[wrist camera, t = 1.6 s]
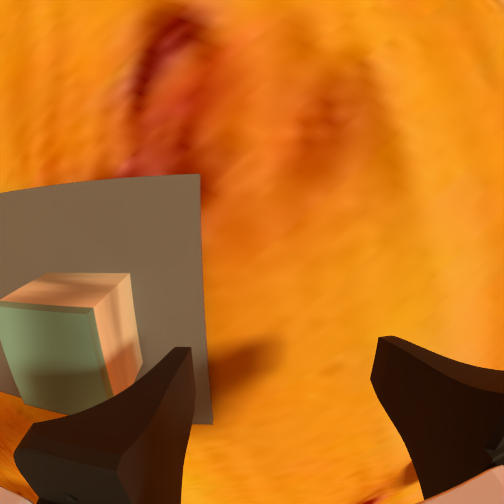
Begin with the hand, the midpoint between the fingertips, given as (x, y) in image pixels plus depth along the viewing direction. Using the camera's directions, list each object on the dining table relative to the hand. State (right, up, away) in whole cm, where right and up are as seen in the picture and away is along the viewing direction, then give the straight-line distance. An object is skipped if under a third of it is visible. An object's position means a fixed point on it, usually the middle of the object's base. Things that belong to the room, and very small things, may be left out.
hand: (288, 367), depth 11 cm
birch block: (-10, +1, +4) cm, 10 cm away
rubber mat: (-15, +1, +4) cm, 15 cm away
